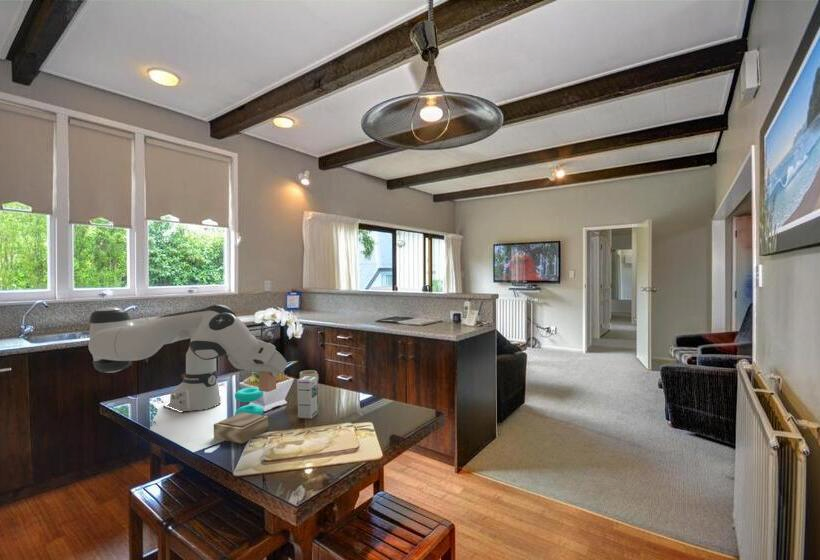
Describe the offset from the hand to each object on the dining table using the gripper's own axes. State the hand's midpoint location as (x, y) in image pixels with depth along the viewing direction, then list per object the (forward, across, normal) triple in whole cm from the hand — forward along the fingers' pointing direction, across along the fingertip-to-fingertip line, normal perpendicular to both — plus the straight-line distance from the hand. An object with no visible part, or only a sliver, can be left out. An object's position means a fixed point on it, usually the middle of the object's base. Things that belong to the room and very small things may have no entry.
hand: (268, 374), depth 133 cm
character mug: (+34, -4, +7) cm, 35 cm away
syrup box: (+25, +5, -2) cm, 26 cm away
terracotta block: (+3, 0, -4) cm, 5 cm away
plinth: (+10, -6, -18) cm, 21 cm away
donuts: (+20, -16, -8) cm, 27 cm away
